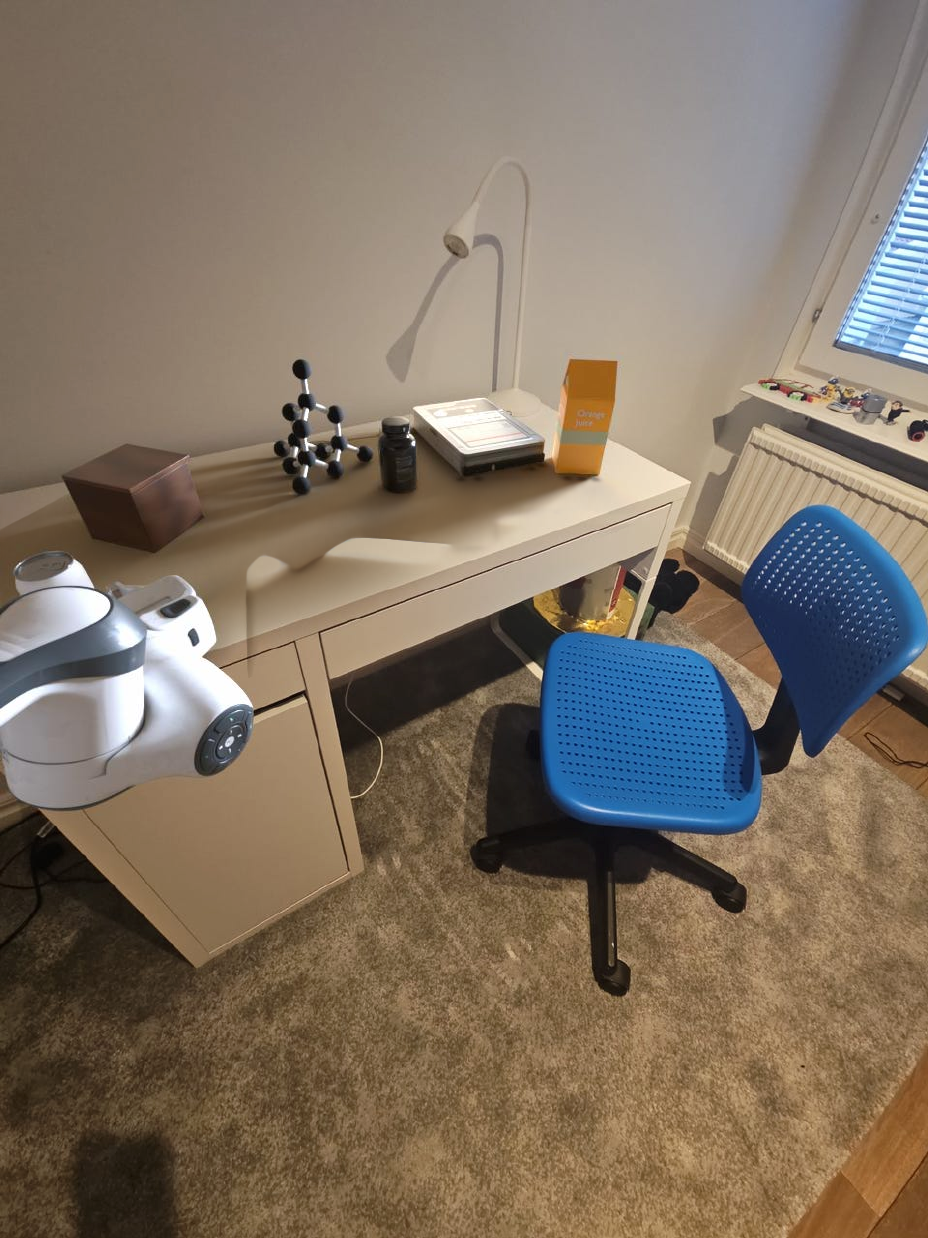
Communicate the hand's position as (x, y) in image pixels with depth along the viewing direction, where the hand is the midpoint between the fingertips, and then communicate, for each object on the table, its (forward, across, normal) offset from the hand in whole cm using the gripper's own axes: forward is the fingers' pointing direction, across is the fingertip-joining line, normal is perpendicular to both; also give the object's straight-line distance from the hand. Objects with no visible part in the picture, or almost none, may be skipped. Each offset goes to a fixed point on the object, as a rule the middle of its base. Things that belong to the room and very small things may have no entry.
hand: (71, 608), depth 61 cm
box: (+22, +19, -7) cm, 30 cm away
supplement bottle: (+1, +56, -7) cm, 56 cm away
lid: (+22, +19, +3) cm, 29 cm away
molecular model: (+20, +50, -7) cm, 54 cm away
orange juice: (-20, +85, -7) cm, 88 cm away
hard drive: (+2, +81, -7) cm, 81 cm away
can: (+1, 0, -7) cm, 7 cm away
